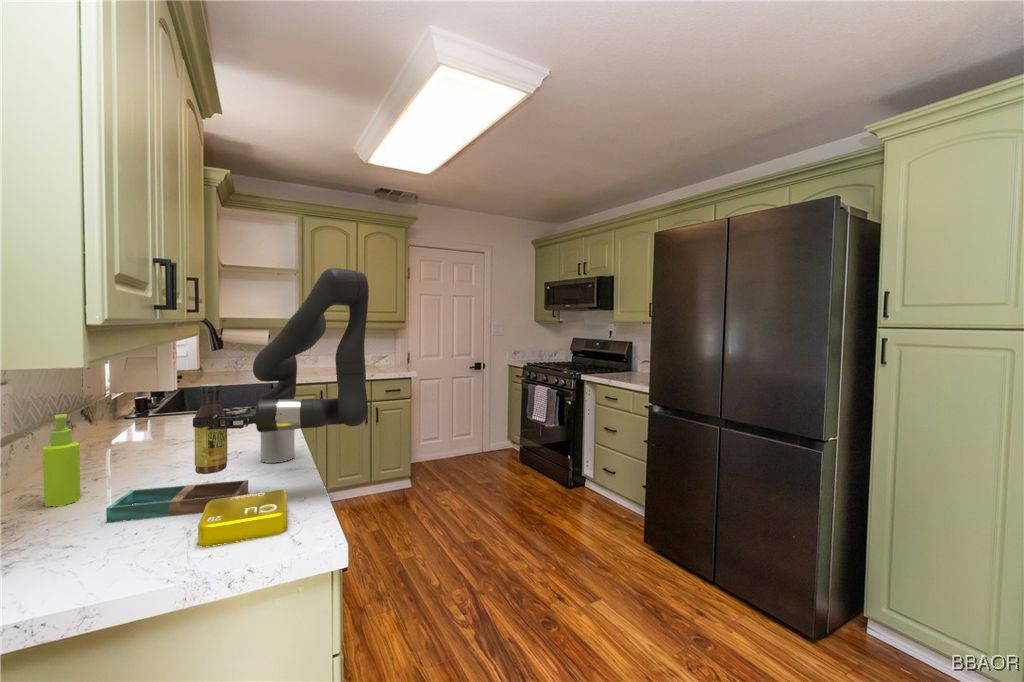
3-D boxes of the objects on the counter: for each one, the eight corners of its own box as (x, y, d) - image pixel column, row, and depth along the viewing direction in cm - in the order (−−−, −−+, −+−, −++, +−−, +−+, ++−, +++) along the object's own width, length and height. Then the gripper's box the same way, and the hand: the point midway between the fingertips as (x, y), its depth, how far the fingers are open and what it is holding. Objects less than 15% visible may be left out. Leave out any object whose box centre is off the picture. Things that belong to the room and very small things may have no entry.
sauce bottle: (211, 476, 99) (208, 387, 98) (187, 474, 100) (184, 386, 99) (235, 466, 105) (232, 383, 104) (212, 464, 107) (209, 382, 105)
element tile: (286, 506, 102) (286, 486, 102) (287, 534, 89) (287, 510, 89) (208, 519, 96) (207, 497, 95) (196, 551, 82) (196, 525, 82)
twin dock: (131, 503, 102) (131, 490, 102) (248, 492, 110) (248, 480, 110) (106, 522, 92) (106, 508, 92) (237, 509, 100) (237, 495, 100)
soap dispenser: (80, 493, 107) (78, 411, 107) (80, 502, 102) (78, 415, 102) (45, 500, 103) (43, 414, 103) (43, 509, 98) (41, 419, 98)
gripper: (285, 394, 114) (207, 397, 108) (275, 404, 100) (186, 408, 95) (285, 424, 114) (208, 428, 108) (275, 437, 100) (187, 443, 95)
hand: (198, 419), depth 101 cm, fingers closed on sauce bottle, 6 cm apart
